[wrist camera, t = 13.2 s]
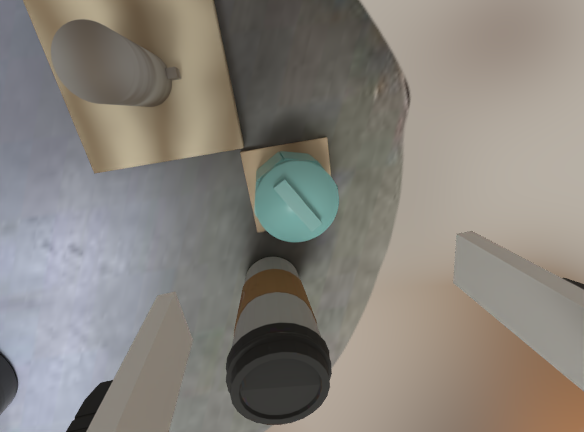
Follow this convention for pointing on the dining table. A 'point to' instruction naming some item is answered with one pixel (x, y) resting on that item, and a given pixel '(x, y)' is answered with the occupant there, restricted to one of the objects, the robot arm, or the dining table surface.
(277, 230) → the cap
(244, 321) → the coffee cup
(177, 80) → the post base
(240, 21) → the dining table surface
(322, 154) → the coaster
